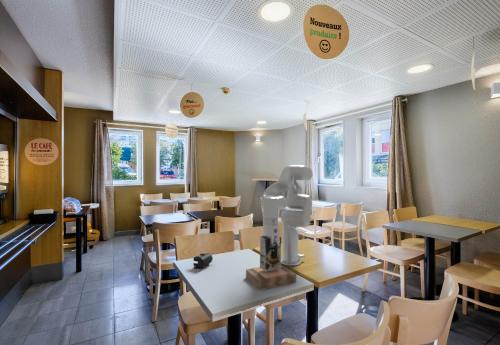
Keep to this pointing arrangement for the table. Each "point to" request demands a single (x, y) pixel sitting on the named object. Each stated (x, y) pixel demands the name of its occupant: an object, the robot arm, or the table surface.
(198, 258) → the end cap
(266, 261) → the coffee box
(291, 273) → the stand
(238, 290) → the table surface
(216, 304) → the table surface
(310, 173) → the robot arm
